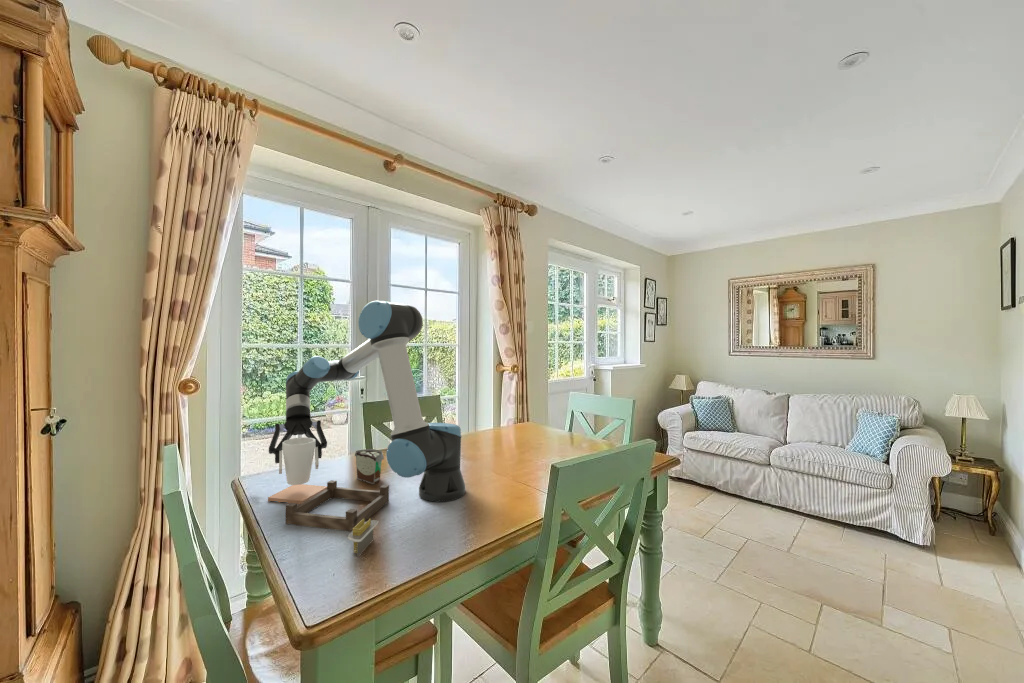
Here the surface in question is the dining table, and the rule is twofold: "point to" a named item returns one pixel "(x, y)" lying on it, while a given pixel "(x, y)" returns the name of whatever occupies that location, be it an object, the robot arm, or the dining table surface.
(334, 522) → the frame
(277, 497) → the terracotta tile
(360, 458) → the cake slice
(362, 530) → the grey yellow plug connector
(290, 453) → the foam cup
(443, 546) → the dining table surface
